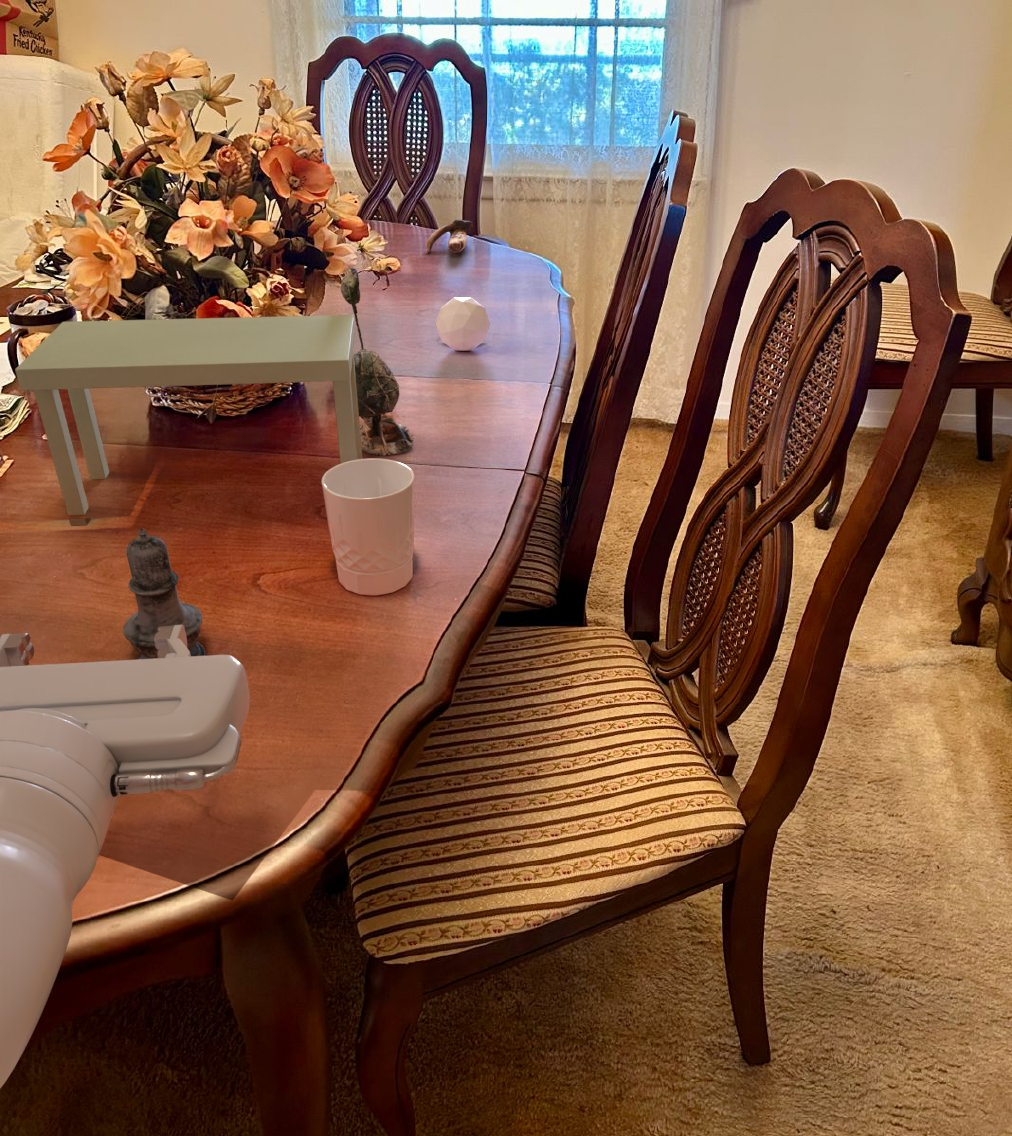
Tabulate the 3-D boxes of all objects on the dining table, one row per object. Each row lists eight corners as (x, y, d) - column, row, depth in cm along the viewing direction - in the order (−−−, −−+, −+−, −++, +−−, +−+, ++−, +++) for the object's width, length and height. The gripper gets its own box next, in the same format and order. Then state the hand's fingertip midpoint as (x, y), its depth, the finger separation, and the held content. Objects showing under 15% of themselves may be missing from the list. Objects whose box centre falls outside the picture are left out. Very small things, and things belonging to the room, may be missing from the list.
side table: (62, 537, 91) (14, 369, 82) (100, 474, 102) (62, 321, 94) (362, 524, 93) (348, 359, 84) (365, 464, 105) (353, 314, 96)
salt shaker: (179, 689, 71) (148, 554, 65) (116, 672, 73) (80, 539, 66) (224, 646, 76) (200, 516, 69) (164, 631, 77) (135, 503, 71)
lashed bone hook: (431, 240, 202) (423, 258, 186) (429, 217, 200) (422, 234, 184) (474, 239, 202) (470, 257, 186) (473, 216, 199) (469, 232, 184)
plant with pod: (337, 465, 105) (319, 286, 94) (352, 426, 114) (338, 259, 104) (409, 466, 105) (400, 287, 94) (418, 426, 114) (410, 259, 104)
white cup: (397, 607, 81) (390, 505, 75) (316, 590, 83) (304, 490, 78) (432, 562, 87) (428, 465, 82) (356, 548, 89) (347, 452, 84)
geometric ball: (457, 362, 142) (456, 311, 143) (500, 351, 138) (499, 299, 139) (425, 349, 136) (425, 296, 137) (470, 337, 132) (469, 283, 132)
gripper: (222, 737, 46) (258, 587, 58) (-215, 765, 45) (-87, 604, 56) (241, 827, 50) (271, 668, 61) (-165, 856, 48) (-54, 686, 60)
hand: (97, 637), depth 59 cm, fingers open, 8 cm apart
